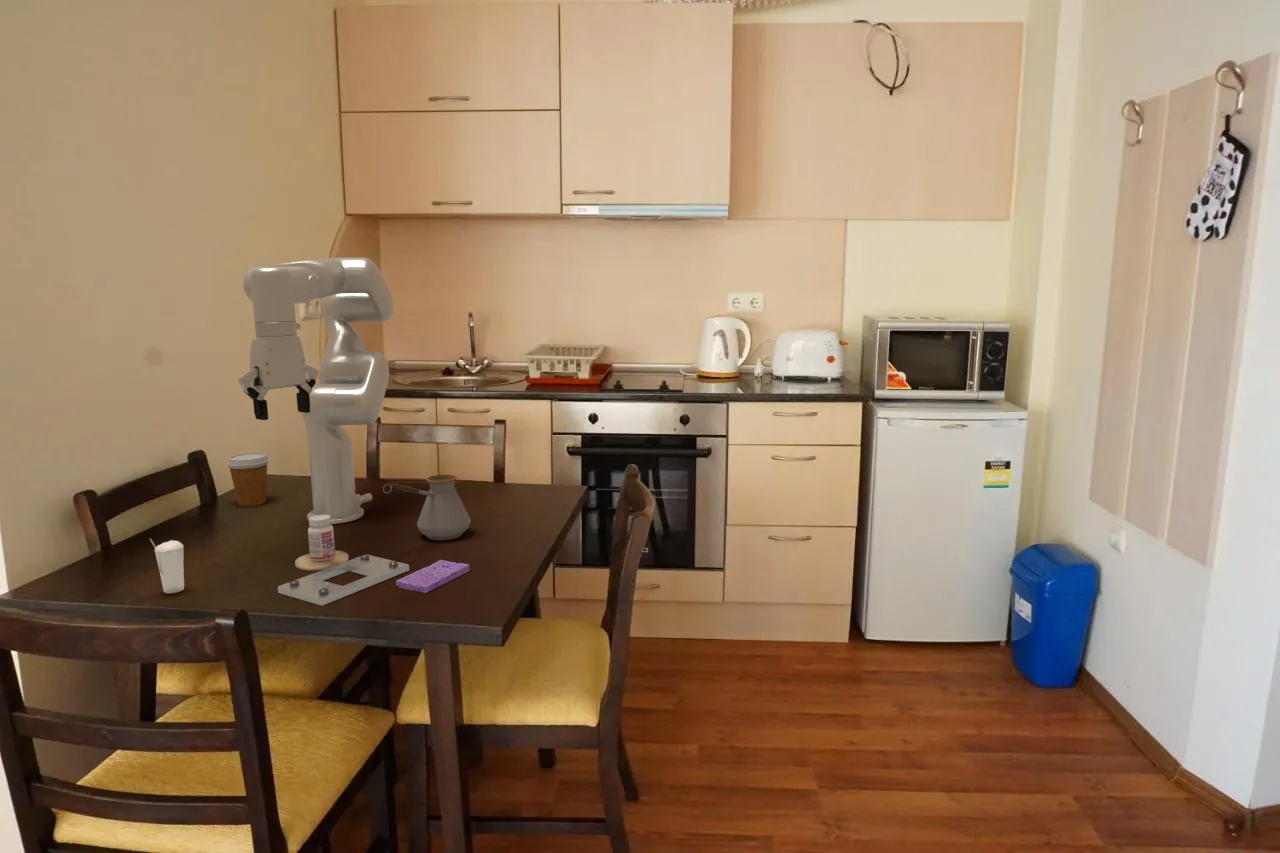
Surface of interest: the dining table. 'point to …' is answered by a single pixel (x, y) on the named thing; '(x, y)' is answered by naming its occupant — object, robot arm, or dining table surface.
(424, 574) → the sponges
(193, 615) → the dining table surface
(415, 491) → the coffee pot
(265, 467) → the disposable coffee cup
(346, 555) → the cork coaster
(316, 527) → the pill bottle
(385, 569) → the flange plate
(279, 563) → the dining table surface
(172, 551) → the milkshake
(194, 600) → the dining table surface
